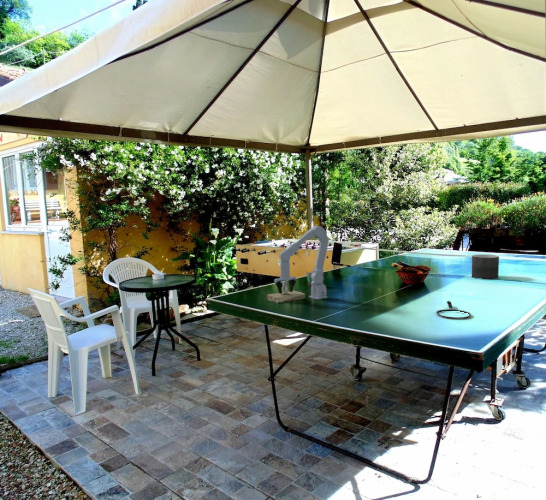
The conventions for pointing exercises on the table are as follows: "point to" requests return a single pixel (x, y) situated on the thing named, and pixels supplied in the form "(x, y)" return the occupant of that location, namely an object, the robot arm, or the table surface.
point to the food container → (309, 278)
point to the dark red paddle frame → (451, 310)
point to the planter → (485, 266)
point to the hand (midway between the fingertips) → (285, 292)
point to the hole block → (285, 296)
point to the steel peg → (285, 288)
